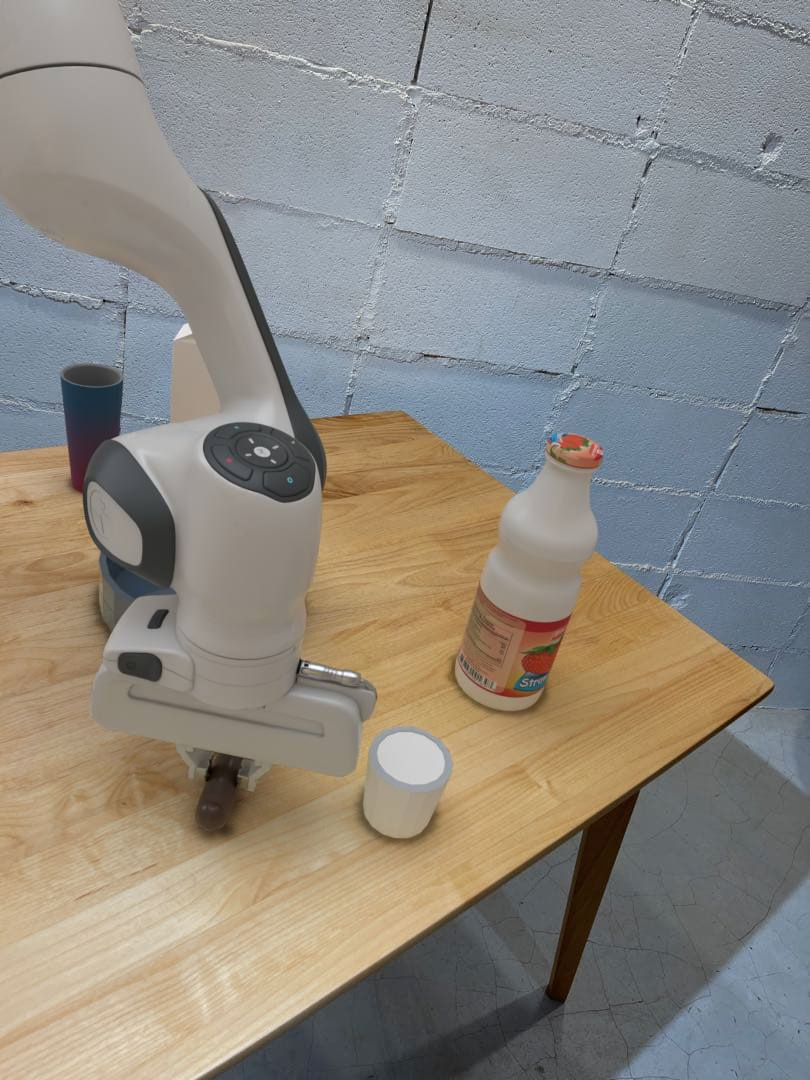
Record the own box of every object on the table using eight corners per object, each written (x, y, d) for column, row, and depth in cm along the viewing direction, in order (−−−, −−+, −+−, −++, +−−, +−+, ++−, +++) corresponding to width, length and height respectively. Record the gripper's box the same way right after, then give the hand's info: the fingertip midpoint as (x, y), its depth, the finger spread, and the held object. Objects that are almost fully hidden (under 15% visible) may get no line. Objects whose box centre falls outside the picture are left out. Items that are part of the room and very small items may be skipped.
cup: (52, 491, 99) (47, 376, 91) (84, 468, 104) (82, 358, 96) (104, 507, 98) (103, 392, 90) (133, 483, 104) (134, 373, 96)
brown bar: (225, 841, 62) (228, 819, 61) (187, 833, 62) (188, 811, 61) (265, 718, 74) (268, 697, 72) (232, 711, 73) (235, 690, 72)
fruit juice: (466, 641, 90) (535, 410, 75) (548, 672, 88) (635, 441, 73) (441, 693, 82) (513, 447, 67) (530, 728, 80) (624, 483, 65)
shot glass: (338, 805, 68) (351, 748, 64) (396, 768, 73) (411, 712, 69) (394, 863, 64) (411, 806, 61) (451, 821, 69) (470, 764, 65)
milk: (167, 479, 106) (172, 314, 94) (177, 457, 111) (183, 298, 100) (214, 486, 107) (225, 323, 95) (222, 464, 112) (233, 307, 100)
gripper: (386, 650, 61) (356, 774, 68) (115, 592, 60) (113, 724, 67) (377, 709, 55) (344, 838, 63) (78, 647, 55) (81, 784, 62)
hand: (223, 779), depth 65 cm, fingers closed on brown bar, 2 cm apart
